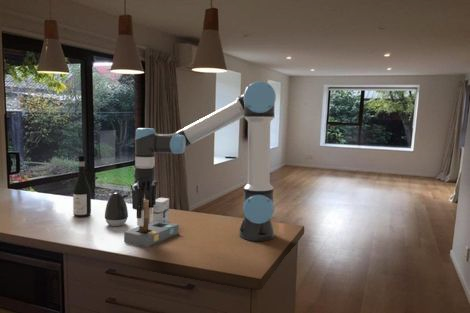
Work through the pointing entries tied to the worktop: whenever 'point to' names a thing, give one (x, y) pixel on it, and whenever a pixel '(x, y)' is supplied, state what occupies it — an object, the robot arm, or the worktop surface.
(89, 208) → the wine bottle
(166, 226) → the socket box
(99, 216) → the worktop surface
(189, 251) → the worktop surface
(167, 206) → the ink box
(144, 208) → the walnut plug
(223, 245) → the worktop surface
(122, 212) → the pump dispenser
